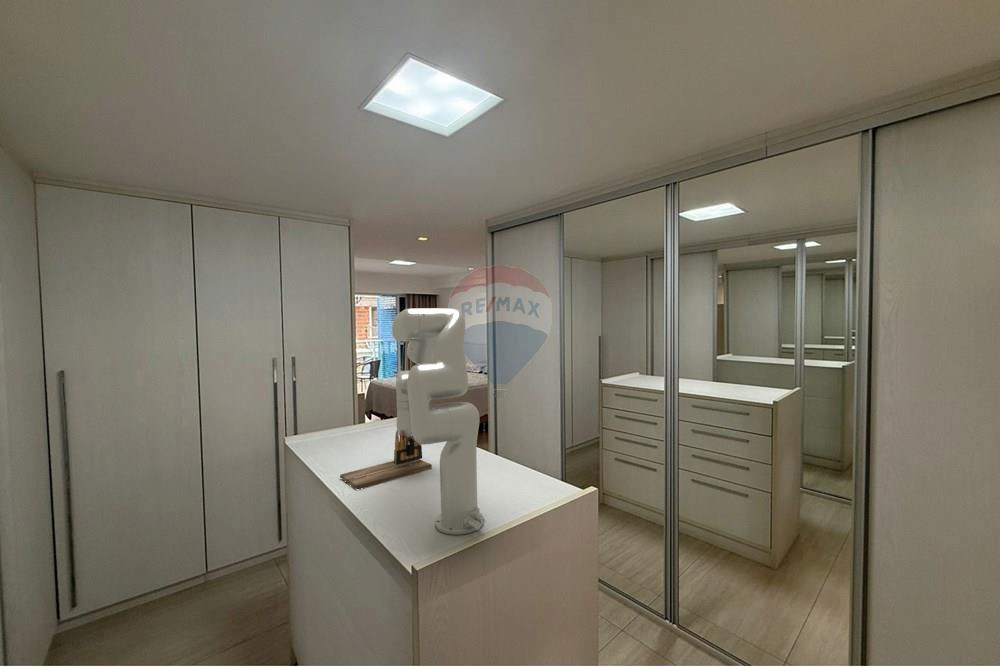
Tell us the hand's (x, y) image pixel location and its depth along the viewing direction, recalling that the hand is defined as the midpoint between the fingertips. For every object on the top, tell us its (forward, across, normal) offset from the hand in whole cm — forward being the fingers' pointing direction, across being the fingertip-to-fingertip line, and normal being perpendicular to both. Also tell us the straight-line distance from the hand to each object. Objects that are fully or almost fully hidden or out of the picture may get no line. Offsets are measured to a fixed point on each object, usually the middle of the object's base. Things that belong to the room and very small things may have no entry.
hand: (408, 454), depth 150 cm
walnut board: (+5, 0, +8) cm, 10 cm away
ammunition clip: (+3, 0, 0) cm, 3 cm away
